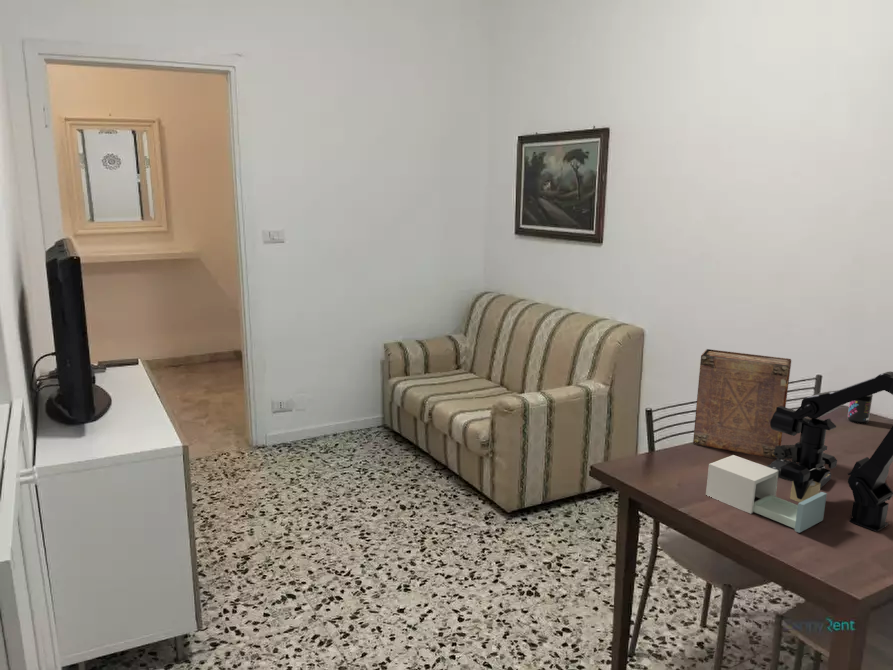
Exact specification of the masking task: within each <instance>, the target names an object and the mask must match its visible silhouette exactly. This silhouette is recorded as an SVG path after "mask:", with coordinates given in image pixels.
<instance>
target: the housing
mask: <svg viewBox="0 0 893 670" xmlns="http://www.w3.org/2000/svg"><path fill="white" fill-rule="evenodd" d="M766 466H767V465H763V464H761V463H758V462H754V461H752V460H750V459H749V460H748V459H746V458H744V457H740V456H737V455H734V454H732V455H730V456H727V457H724V458H721V459H719V460H716V461H714V462H711V463H708V470H707V477H706V479H707V481H706V489H705V496H706V495H707V496H706V497H709V496H710V498H711V497H712V499H714V500H717V501H718V500H719V501H718V502H721V503H724V504H726V505H729V506H730V507H732V508H733V507H734V508H735V509H738V510H740V511H743V512H745V513H748V514H750V515H752V514H753V513H754V512H753V506H754V502H755V498H758V499H762V498H764V497H766V496H769V495H773V496H776V497H777V487H778V481H779V478H778V474H779V471H778V470H775V469H772V468H769V467H766Z"/></svg>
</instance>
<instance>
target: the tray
mask: <svg viewBox="0 0 893 670" xmlns="http://www.w3.org/2000/svg"><path fill="white" fill-rule="evenodd" d="M827 496H828V493H826V492H824V491H820V492H819V493H818V494H816V495H814V496H812V497H810V498H808V499H806V500H804V501H802V502H798V504H797V503H794V502H792V501H789V500H786V499H783V498H781V497H778V496H777V495H776V496H773V495H769V496H766V497H764V498H762V499H761V498H759V499H758V500H754V506H753V513H755V514H757V515H761V516H762V517H765V518H767V519H771V520H773V521H775V522H777V523H780V524H782V525H785V526H787V527H789V528H792V529H794V531H795V532H796V533H799V534H800V533H802V532H804V531H806V530H808V529H809V528H811V527H814V526H815V525H817V524H818V523H820V522H823V520H824V515H825V507H826V502H827Z"/></svg>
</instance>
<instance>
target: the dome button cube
mask: <svg viewBox="0 0 893 670" xmlns="http://www.w3.org/2000/svg"><path fill="white" fill-rule="evenodd" d="M820 485H821V483H818V482H815V481H812V482H811V484H810V486H809V487H808V489H807V491H806V493H805V495H804V496H803V498H802V499H798V498H797V495H796V491H795V486H794V483H793V481H791V488H790V495H789V499H790V500H792V501H795V502H798V503H800V502H802V501H804V500H806V499H808V498H810V497H812V496H814V495H816V494H818V493H820V492H821V491H820V490H821V488H820Z"/></svg>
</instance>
